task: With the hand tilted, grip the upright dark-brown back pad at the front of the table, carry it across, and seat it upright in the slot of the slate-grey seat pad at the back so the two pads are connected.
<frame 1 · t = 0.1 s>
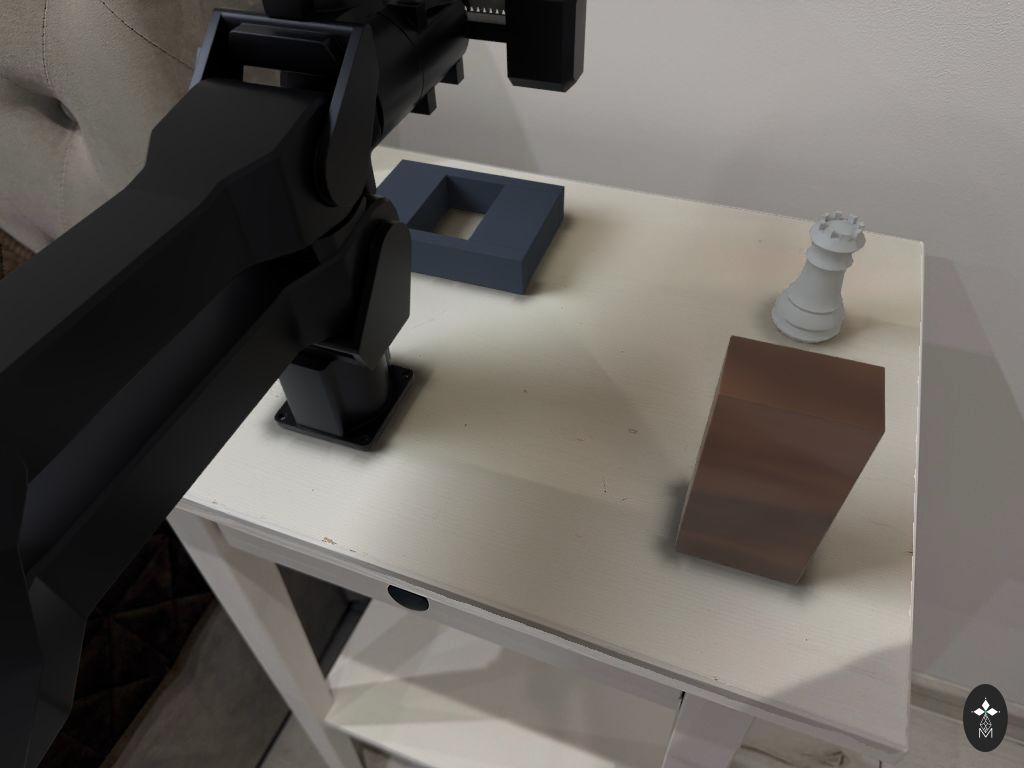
back pad: (738, 538, 36), on the nightstand
seat pad: (459, 238, 54), on the nightstand
rook chess piece: (803, 325, 47), on the nightstand
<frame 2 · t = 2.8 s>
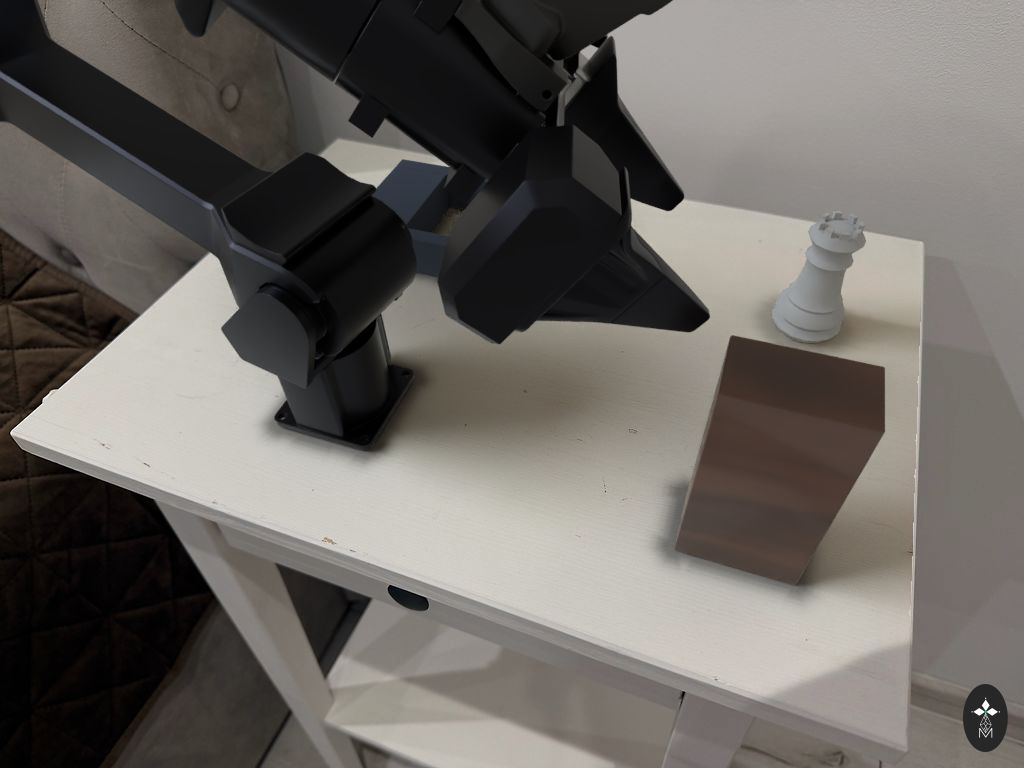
hand: (688, 256, 30), 13 cm above the nightstand, tool tilted 50°, fingers open, 9 cm apart
nothing on the nightstand moved.
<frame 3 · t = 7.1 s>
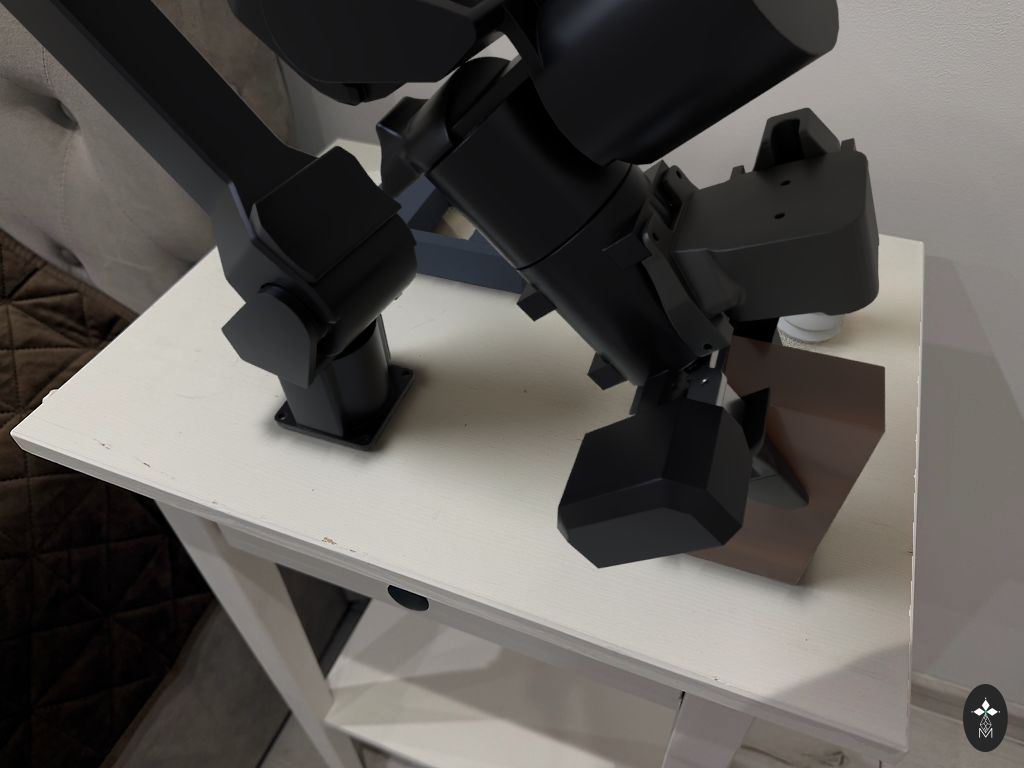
hand: (802, 470, 31), 7 cm above the nightstand, tool tilted 45°, fingers closed on back pad, 3 cm apart
back pad: (738, 538, 36), on the nightstand, touching gripper
everything else where it was.
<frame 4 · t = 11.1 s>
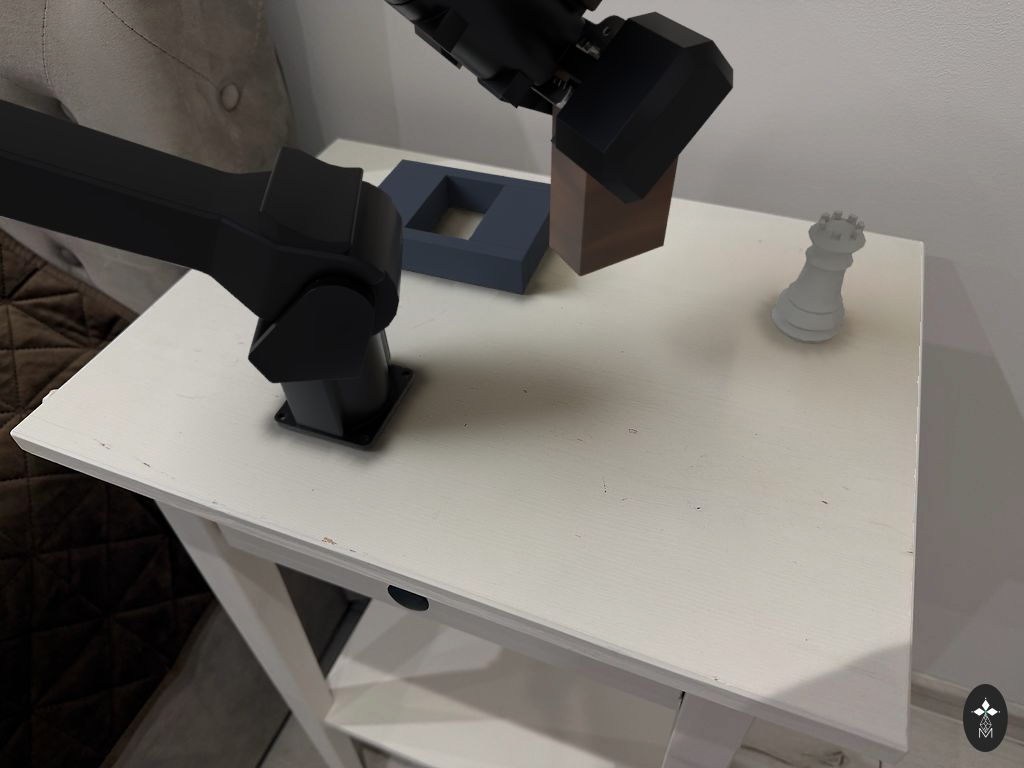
hand: (637, 137, 37), 13 cm above the nightstand, tool tilted 45°, fingers closed on back pad, 3 cm apart
back pad: (606, 246, 42), point 7 cm above the nightstand, touching gripper
everything else where it was.
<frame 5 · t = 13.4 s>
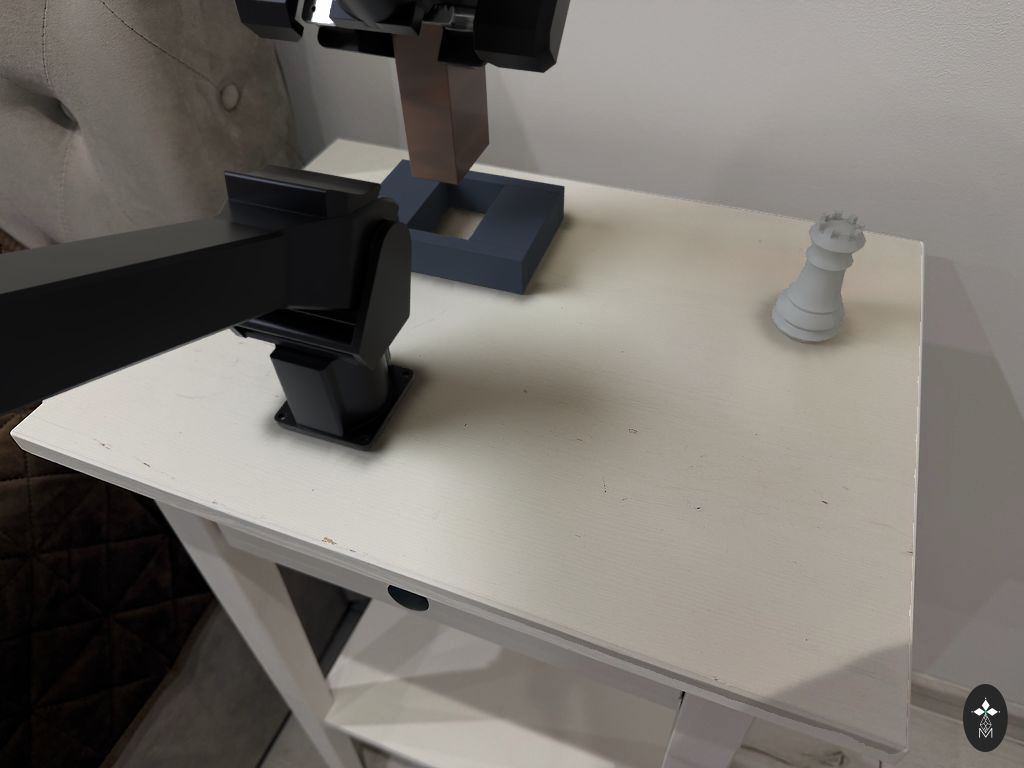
hand: (451, 58, 46), 13 cm above the nightstand, tool tilted 45°, fingers closed on back pad, 3 cm apart
back pad: (451, 160, 50), point 7 cm above the nightstand, touching gripper
everything else where it was.
when the fingers open (7 cm above the nightstand, at t = 15.5 s): back pad stays where it is, resting in seat pad.
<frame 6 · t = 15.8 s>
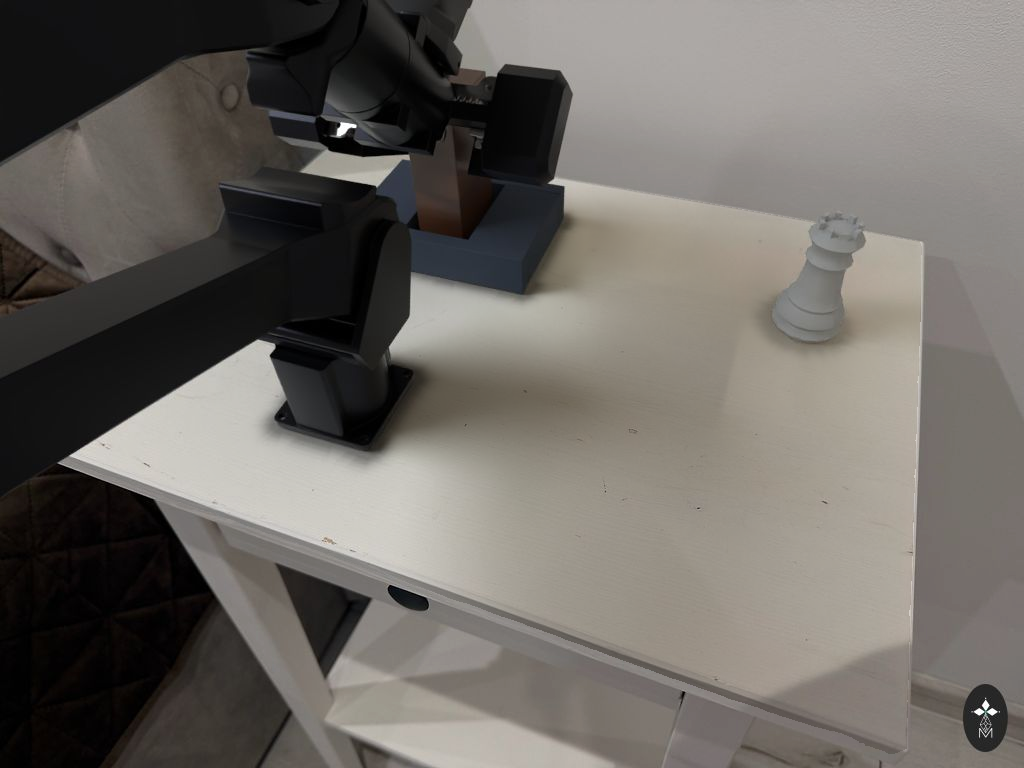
hand: (459, 152, 51), 7 cm above the nightstand, tool tilted 45°, fingers open, 6 cm apart
back pad: (459, 238, 54), resting in seat pad
everything else where it was.
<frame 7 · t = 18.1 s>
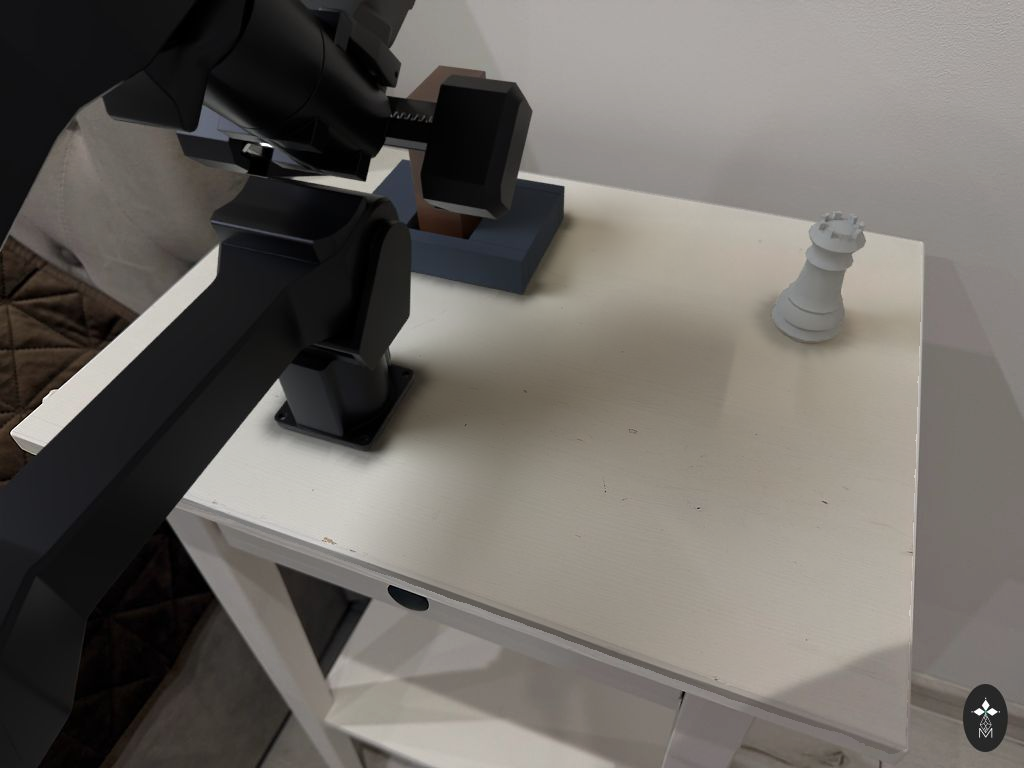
hand: (410, 177, 44), 9 cm above the nightstand, tool tilted 45°, fingers open, 9 cm apart
nothing on the nightstand moved.
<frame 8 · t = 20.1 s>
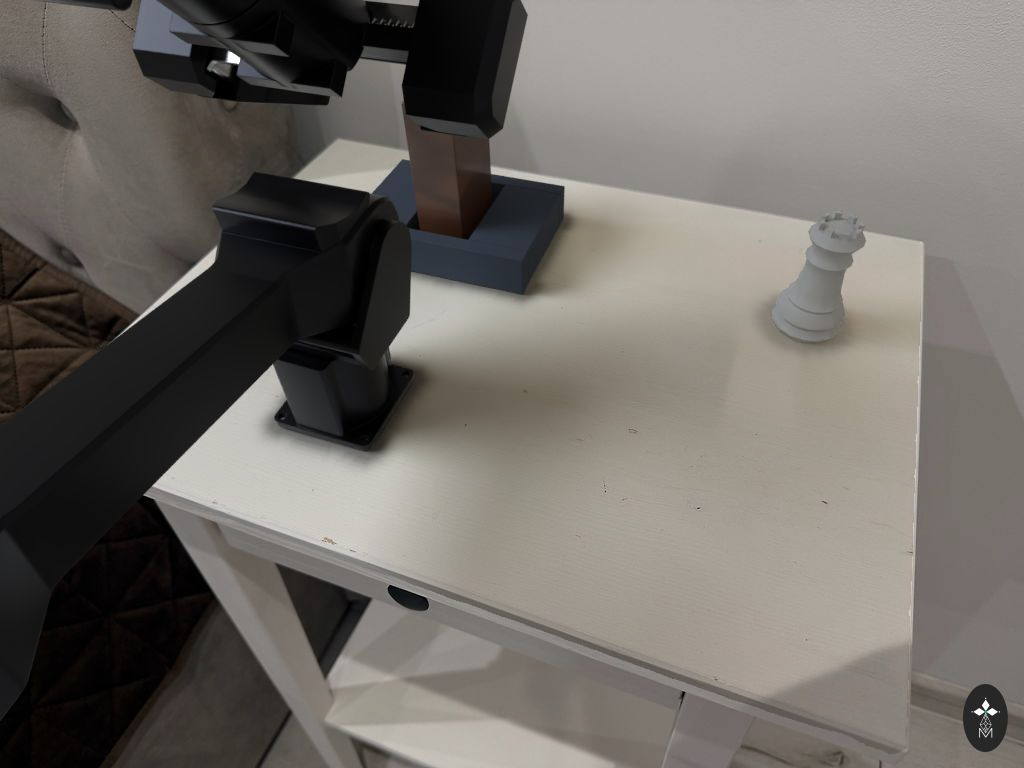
hand: (396, 106, 40), 14 cm above the nightstand, tool tilted 45°, fingers open, 9 cm apart
nothing on the nightstand moved.
at the end: back pad 0.0 cm off-centre on the seat pad, point 0.0 cm above the seat pad's base; back pad tilted 0°; the gripper is holding nothing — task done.
